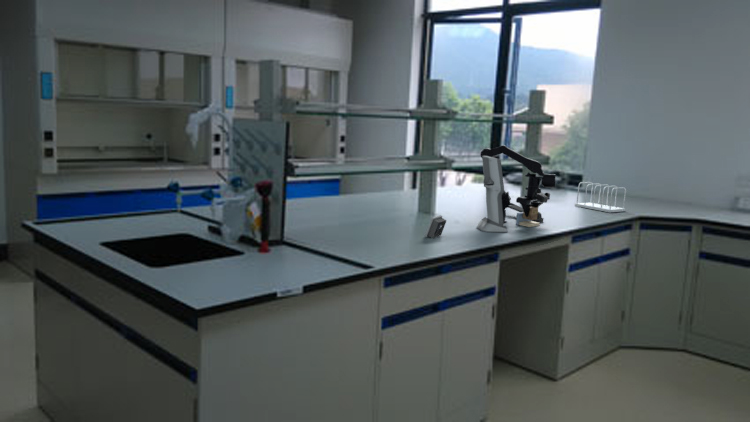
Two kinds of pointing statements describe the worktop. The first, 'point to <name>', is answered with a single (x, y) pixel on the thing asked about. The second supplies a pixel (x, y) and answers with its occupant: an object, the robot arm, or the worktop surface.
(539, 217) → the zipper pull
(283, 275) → the worktop surface
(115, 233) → the worktop surface
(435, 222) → the electrical switch
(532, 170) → the robot arm
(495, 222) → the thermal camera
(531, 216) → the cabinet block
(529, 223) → the blue and beige sponge
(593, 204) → the file sorter
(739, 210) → the worktop surface
